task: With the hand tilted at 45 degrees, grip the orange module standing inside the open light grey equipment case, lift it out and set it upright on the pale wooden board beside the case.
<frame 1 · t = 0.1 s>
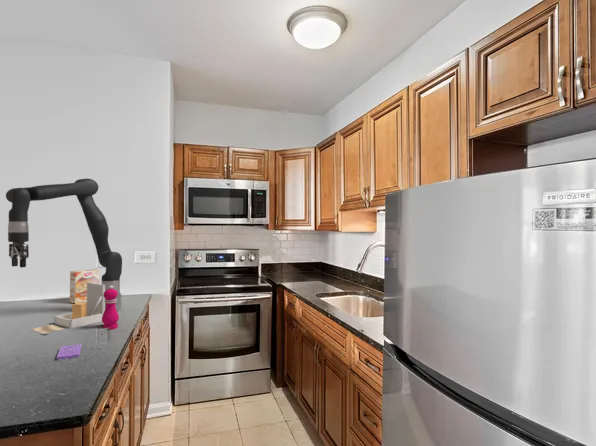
hand: (18, 266, 168), 29 cm above the worktop, tool pointing down, fingers open, 8 cm apart
sponges: (69, 355, 139), on the worktop
equipment case: (79, 323, 179), on the worktop
coffeecake box: (84, 301, 231), on the worktop
module: (79, 321, 179), point 1 cm above the worktop, touching equipment case
pepper mill: (110, 328, 173), on the worktop
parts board: (48, 330, 167), on the worktop
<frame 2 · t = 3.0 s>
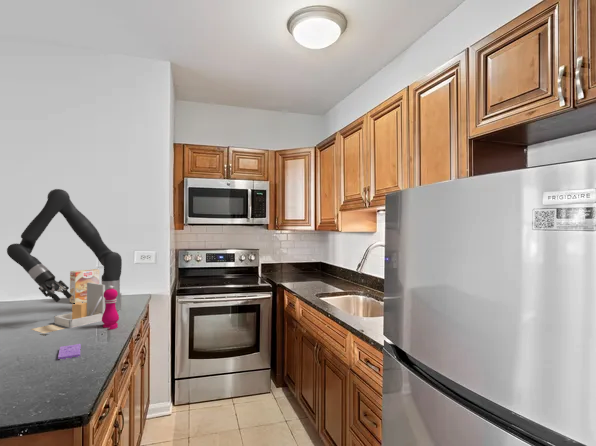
hand: (64, 299, 179), 12 cm above the worktop, tool tilted 45°, fingers open, 8 cm apart
nothing on the worktop moved.
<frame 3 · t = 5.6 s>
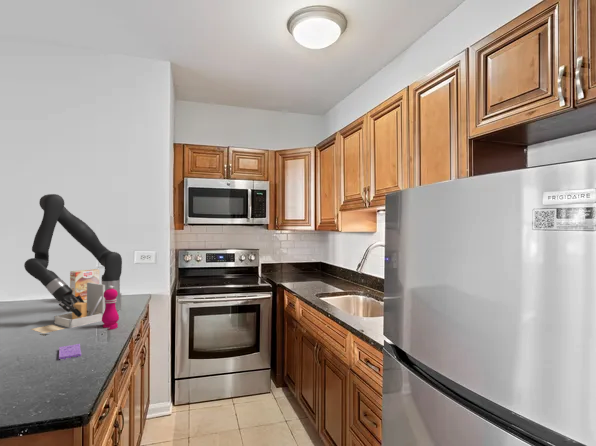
hand: (83, 314, 179), 5 cm above the worktop, tool tilted 45°, fingers closed on module, 4 cm apart
module: (79, 321, 179), point 1 cm above the worktop, touching equipment case, gripper
everything else where it was.
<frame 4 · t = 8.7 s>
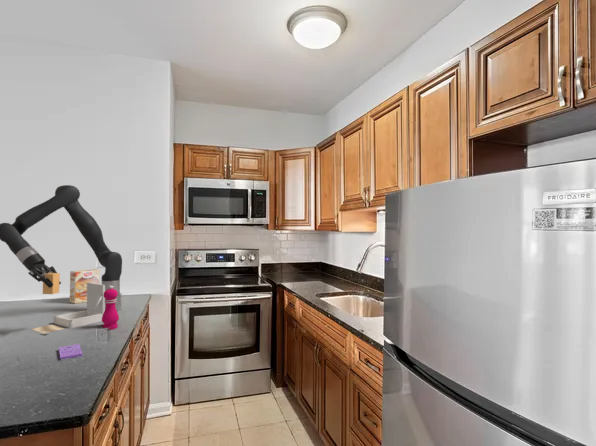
hand: (55, 285, 168), 21 cm above the worktop, tool tilted 45°, fingers closed on module, 4 cm apart
module: (50, 293, 168), point 17 cm above the worktop, touching gripper
everything else where it was.
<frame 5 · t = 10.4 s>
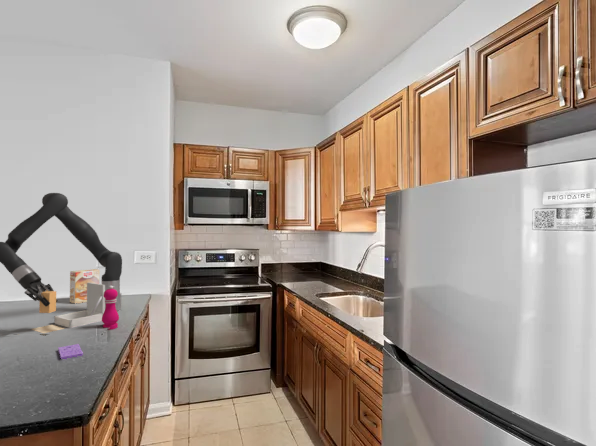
hand: (52, 303, 167), 12 cm above the worktop, tool tilted 45°, fingers closed on module, 4 cm apart
module: (47, 311, 167), point 9 cm above the worktop, touching gripper
everything else where it was.
when the fingers open (6 cm above the worktop, at t = 12.0 s): module drops 1 cm, resting on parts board.
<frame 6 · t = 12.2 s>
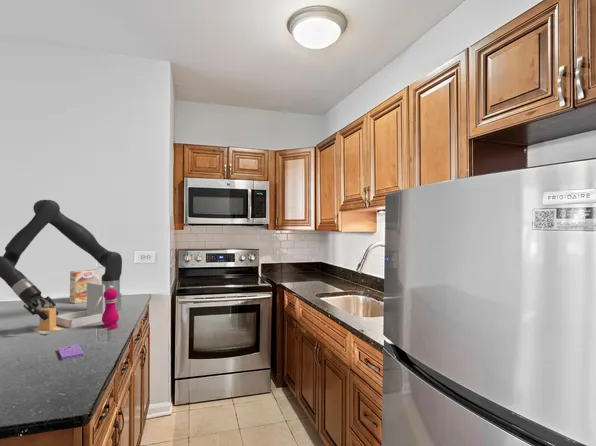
hand: (51, 316, 167), 6 cm above the worktop, tool tilted 45°, fingers open, 6 cm apart
module: (47, 328, 167), point 1 cm above the worktop, touching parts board
everything else where it was.
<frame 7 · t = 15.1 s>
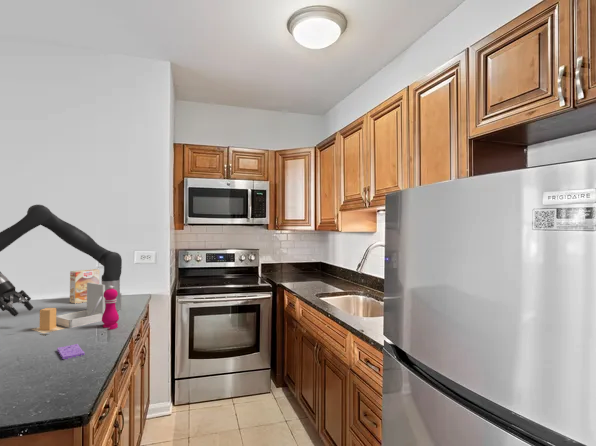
hand: (24, 312, 169), 8 cm above the worktop, tool tilted 40°, fingers open, 8 cm apart
nothing on the worktop moved.
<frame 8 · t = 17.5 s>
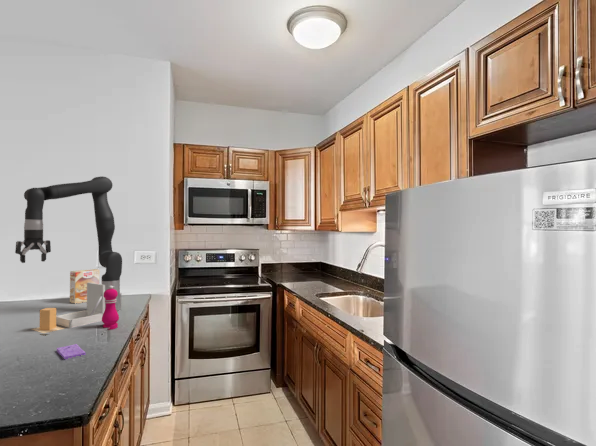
hand: (33, 262, 179), 30 cm above the worktop, tool pointing down, fingers open, 8 cm apart
at the end: module inside the target area on the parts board (0.0 cm from its centre), point 1.0 cm above the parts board's base; module tilted 0°; the gripper is holding nothing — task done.
